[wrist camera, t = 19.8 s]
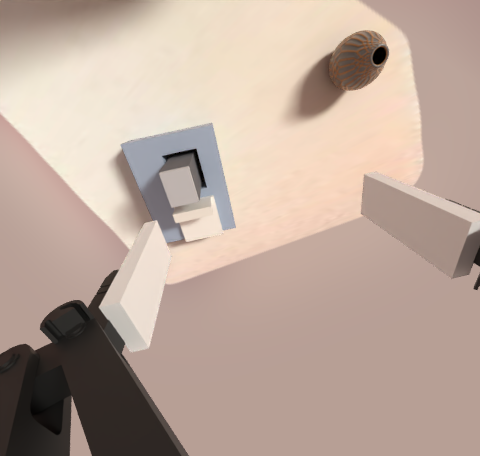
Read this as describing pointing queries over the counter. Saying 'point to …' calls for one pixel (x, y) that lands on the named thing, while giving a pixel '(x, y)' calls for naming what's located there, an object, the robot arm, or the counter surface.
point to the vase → (358, 60)
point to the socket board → (153, 159)
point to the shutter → (199, 219)
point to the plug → (182, 179)
